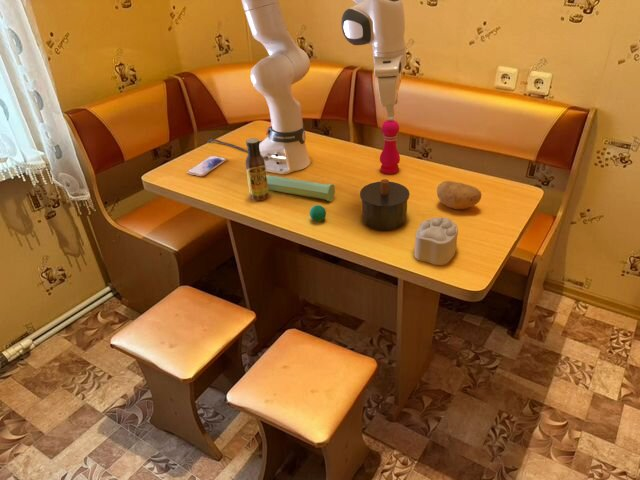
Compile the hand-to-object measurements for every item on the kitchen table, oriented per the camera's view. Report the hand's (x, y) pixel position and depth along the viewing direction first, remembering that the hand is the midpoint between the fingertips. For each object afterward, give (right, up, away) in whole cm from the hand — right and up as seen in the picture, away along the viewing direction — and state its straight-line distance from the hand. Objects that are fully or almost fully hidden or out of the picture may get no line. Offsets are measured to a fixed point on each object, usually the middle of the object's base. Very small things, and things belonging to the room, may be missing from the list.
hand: (392, 109), depth 141 cm
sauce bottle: (-43, -22, +24) cm, 54 cm away
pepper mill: (+1, -10, +38) cm, 39 cm away
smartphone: (-66, -8, +42) cm, 79 cm away
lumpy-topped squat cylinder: (+12, -40, -1) cm, 42 cm away
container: (-30, -20, +25) cm, 44 cm away
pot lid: (-2, -23, +7) cm, 24 cm away
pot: (-2, -30, +12) cm, 32 cm away
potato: (+22, -26, +17) cm, 38 cm away
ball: (-22, -30, +12) cm, 40 cm away
